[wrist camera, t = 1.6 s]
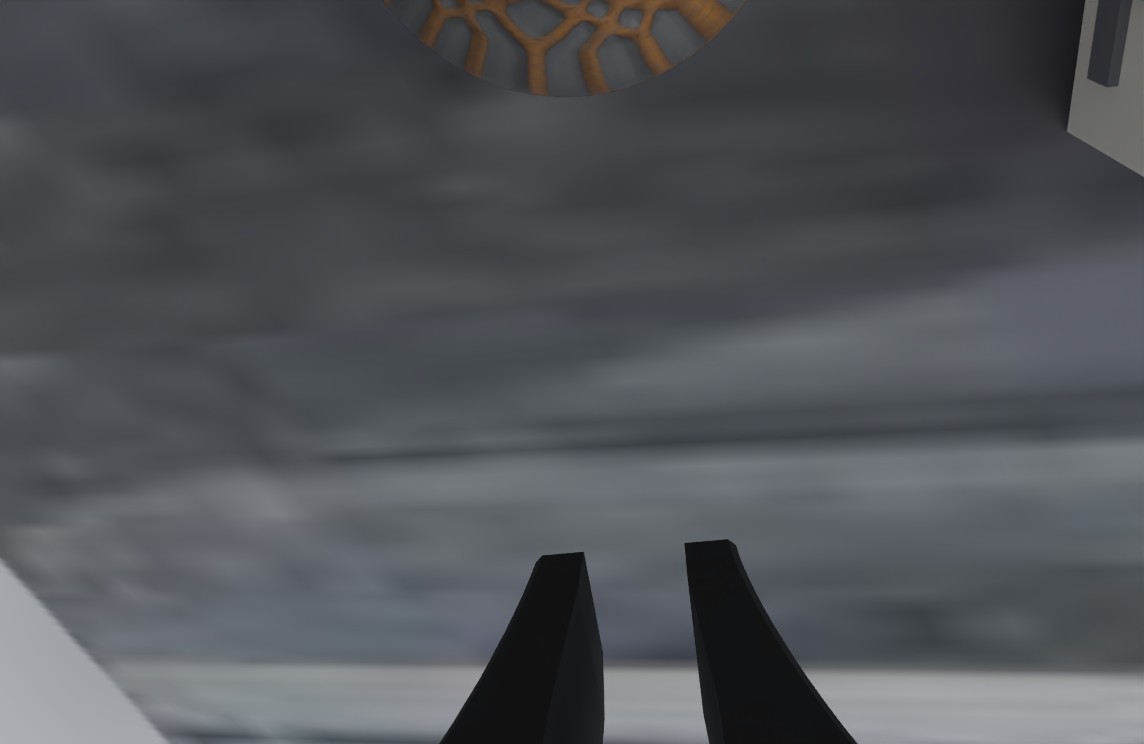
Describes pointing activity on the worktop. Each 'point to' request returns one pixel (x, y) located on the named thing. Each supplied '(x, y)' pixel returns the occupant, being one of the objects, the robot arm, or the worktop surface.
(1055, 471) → the worktop surface
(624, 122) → the worktop surface
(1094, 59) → the letter cube
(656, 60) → the vase
